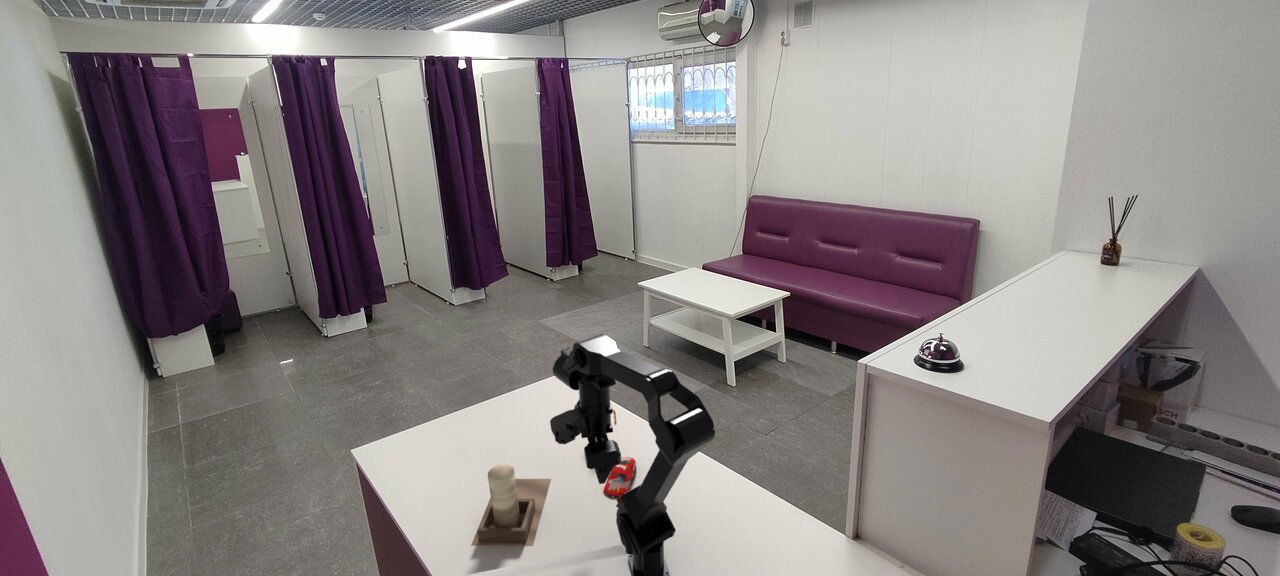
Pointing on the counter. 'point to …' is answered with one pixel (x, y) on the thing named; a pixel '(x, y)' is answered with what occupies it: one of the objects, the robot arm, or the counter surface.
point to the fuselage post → (504, 496)
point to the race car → (620, 478)
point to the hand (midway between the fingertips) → (597, 467)
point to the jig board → (530, 514)
